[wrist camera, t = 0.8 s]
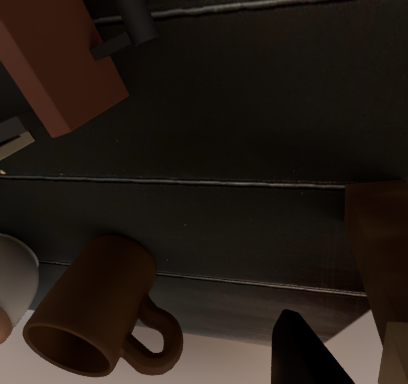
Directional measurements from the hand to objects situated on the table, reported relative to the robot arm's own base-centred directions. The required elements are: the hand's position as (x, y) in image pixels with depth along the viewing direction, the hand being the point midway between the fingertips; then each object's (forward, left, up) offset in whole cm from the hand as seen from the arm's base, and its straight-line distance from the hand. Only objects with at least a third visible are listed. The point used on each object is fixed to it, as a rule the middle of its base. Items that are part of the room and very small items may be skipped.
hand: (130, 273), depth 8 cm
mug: (+10, +13, -13) cm, 21 cm away
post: (-10, +7, -13) cm, 18 cm away
